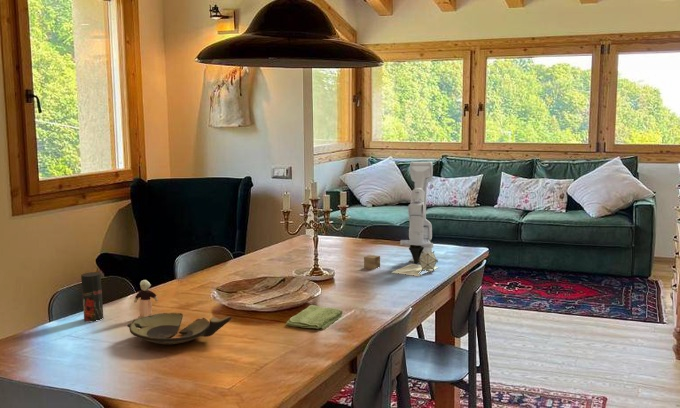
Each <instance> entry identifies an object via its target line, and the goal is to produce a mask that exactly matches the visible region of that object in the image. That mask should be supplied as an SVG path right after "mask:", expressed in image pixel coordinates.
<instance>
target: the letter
mask: <svg viewBox="0 0 680 408" xmlns="http://www.w3.org/2000/svg"><path fill="white" fill-rule="evenodd" d="M438 268H439V267H438V266H434V270H436V269H438ZM421 270H422V267H421V264H414V263H409V264H408V265H405V266H403V267H401V268H398V269H396V270H394V271H391V273H392V274H398V273H399V275H405V274H406V275H407V276H413V275H414V276H416V277H421V276H422V275H421V274H420V273H421V272H422V271H425V270H426V271H428V273H430V272H432V271H433V269H423V270H422V271H421ZM420 271H421V272H420ZM419 272H420V273H419ZM418 273H419V274H418ZM420 275H421V276H420Z"/></svg>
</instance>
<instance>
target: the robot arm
mask: <svg viewBox="0 0 680 408" xmlns="http://www.w3.org/2000/svg"><path fill="white" fill-rule="evenodd" d="M433 170H434V164H433V162H432V161H431V160H430V161H410V163H409V175H410V178H411V179H410V180H411V181H412V182H414V189H412V190H411V193H410V204H408V206H407V207H408V208H407V211H408V212H407V213H408V221H409V228H408V238H409V239H401V240H400V241H399V242H400V243H399V245H400V246H409V247H408V250H409V252H410V254H411V256H412V257H411V259H409V260H408V262H413V264H416V265H418V264H420V262H418V261H419V260H418V259H420V257H421V255H422V251H423V252H433V250H432V249H434V243H433V242H431V241H432V238H433V225H432V222H430V221H429V220H428V219H427V192H428V191H427V188H428V184H429V183H430V182H432V181H433V172H434V171H433Z"/></svg>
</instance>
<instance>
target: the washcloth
mask: <svg viewBox="0 0 680 408" xmlns="http://www.w3.org/2000/svg"><path fill="white" fill-rule="evenodd" d="M342 315H343V310H342V309H340V308H332V307H323V306H319V305H315V304H314V305H313V304H311V305H310V304H309V305H308V306H307V307H306V308H305V309H302V310H301V311H300V312H298V313H297V314H295V315H293V316H292V317H290V318H289V319H288V320H287V321H286V322H285V325H286V326H288V327H294V328H302V329H303V328H304V329H314V330H320V331H324V330H326V329H327V328H328V327H330V326H331V325H333V324H334V323H335V322H336V321H337V320H339V319H340V318H341V317H342Z"/></svg>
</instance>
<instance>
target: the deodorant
mask: <svg viewBox="0 0 680 408" xmlns="http://www.w3.org/2000/svg"><path fill="white" fill-rule="evenodd" d="M80 277H81V279H80V280H81V291H82V306H83V307H82V309H83V319H84V320H86V321H96V320H100V319H102V318H103V319H104V306H103V290H102V277H101V273H100V272H93V271H91V272H85V273H82V274H80ZM103 319H102V320H103ZM86 321H85V322H86ZM100 321H101V320H100ZM96 322H97V321H96Z"/></svg>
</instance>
